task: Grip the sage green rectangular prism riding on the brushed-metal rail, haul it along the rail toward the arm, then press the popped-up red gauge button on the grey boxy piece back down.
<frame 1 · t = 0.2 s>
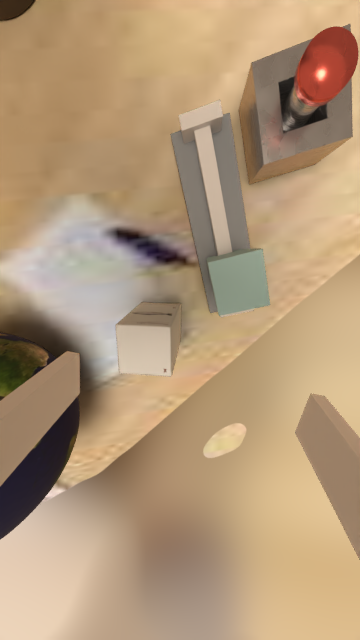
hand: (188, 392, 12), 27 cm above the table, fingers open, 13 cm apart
rail: (217, 227, 34), on the table
globe: (40, 374, 46), on the table
sage green rectangular prism: (232, 277, 29), point 8 cm above the table, slide at 0.0 cm
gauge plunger: (308, 93, 21), point 9 cm above the table, slide at 0.0 cm
grey boxy piece: (277, 138, 30), on the table
supplement box: (161, 320, 40), on the table
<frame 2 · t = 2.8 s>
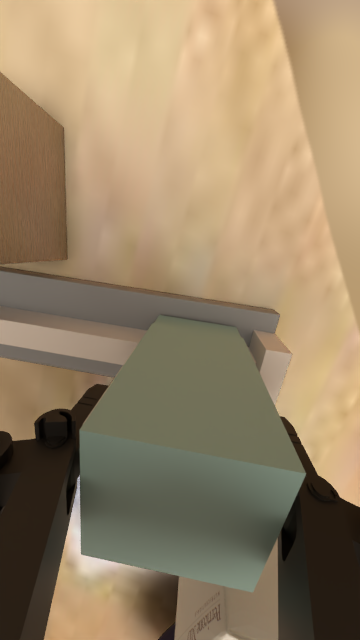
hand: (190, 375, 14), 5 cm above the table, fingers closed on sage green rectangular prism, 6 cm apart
rail: (116, 329, 20), on the table
sage green rectangular prism: (187, 397, 12), point 8 cm above the table, slide at 0.0 cm, touching gripper
grey boxy piece: (9, 191, 17), on the table
supplement box: (229, 460, 23), on the table
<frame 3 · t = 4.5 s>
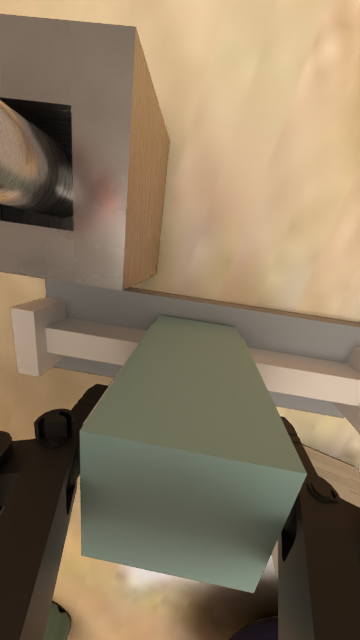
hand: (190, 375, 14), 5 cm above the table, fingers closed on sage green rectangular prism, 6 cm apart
rail: (199, 343, 19), on the table
globe: (281, 623, 32), on the table
sage green rectangular prism: (188, 397, 12), point 8 cm above the table, slide at 7.6 cm, touching gripper
flower pot: (39, 610, 38), on the table
grey boxy piece: (104, 204, 16), on the table
supplement box: (301, 473, 23), on the table
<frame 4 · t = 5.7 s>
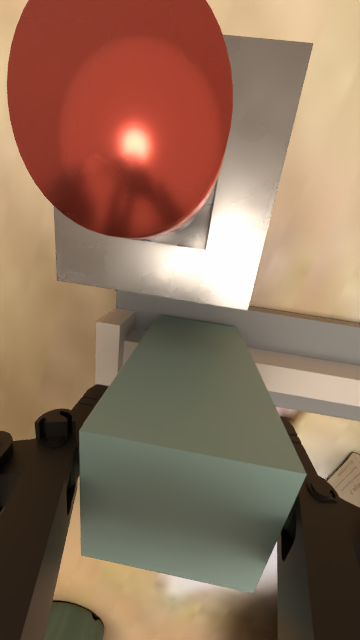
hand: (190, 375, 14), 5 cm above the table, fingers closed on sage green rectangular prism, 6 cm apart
rail: (266, 354, 19), on the table
sage green rectangular prism: (187, 397, 12), point 8 cm above the table, slide at 13.4 cm, touching gripper
flower pot: (72, 618, 38), on the table
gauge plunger: (154, 175, 8), point 9 cm above the table, slide at 0.0 cm
grey boxy piece: (180, 215, 16), on the table
supplement box: (358, 484, 23), on the table
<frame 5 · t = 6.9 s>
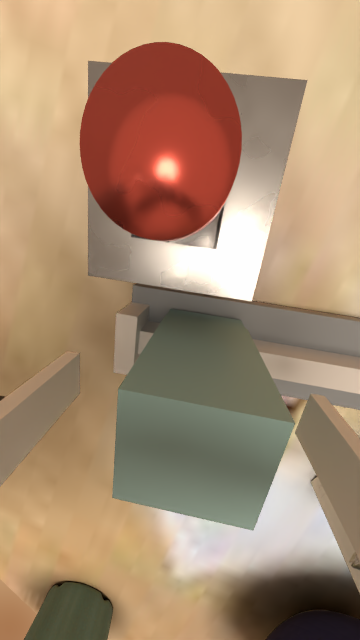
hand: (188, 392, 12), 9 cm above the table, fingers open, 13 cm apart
rail: (269, 346, 20), on the table
globe: (321, 617, 33), on the table
sage green rectangular prism: (197, 379, 14), point 8 cm above the table, slide at 13.5 cm
flower pot: (82, 598, 40), on the table
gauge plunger: (175, 188, 9), point 9 cm above the table, slide at 0.0 cm
grey boxy piece: (190, 217, 18), on the table
supplement box: (356, 471, 24), on the table
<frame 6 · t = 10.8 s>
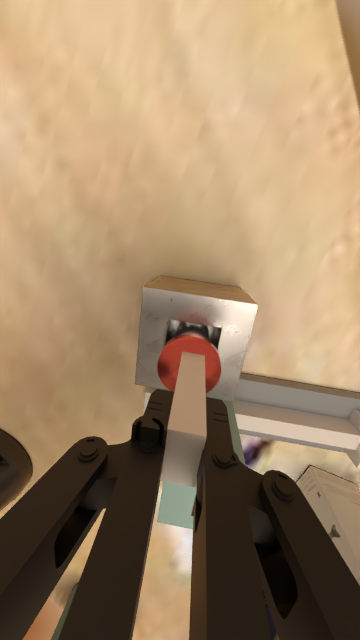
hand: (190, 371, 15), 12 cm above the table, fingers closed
rail: (249, 401, 29), on the table
sage green rectangular prism: (200, 440, 22), point 8 cm above the table, slide at 13.5 cm
flower pot: (101, 594, 47), on the table
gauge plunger: (191, 347, 18), point 8 cm above the table, slide at 1.2 cm, touching gripper
grey boxy piece: (194, 319, 26), on the table
supplement box: (316, 487, 32), on the table
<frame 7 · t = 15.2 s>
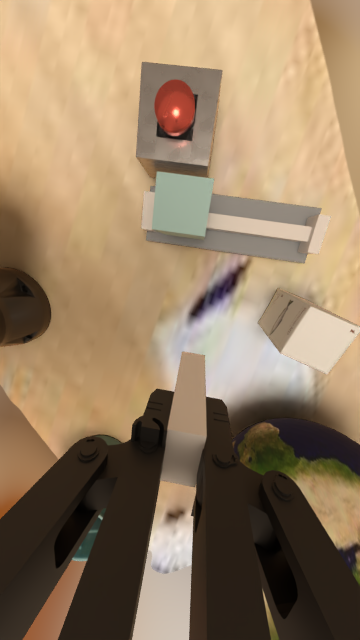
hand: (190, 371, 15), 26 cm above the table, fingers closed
rail: (227, 226, 36), on the table
globe: (273, 441, 48), on the table
sage green rectangular prism: (185, 213, 29), point 8 cm above the table, slide at 13.5 cm
flower pot: (106, 452, 54), on the table
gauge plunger: (177, 124, 27), point 6 cm above the table, slide at 2.7 cm
grey boxy piece: (182, 147, 33), on the table
supplement box: (284, 313, 39), on the table
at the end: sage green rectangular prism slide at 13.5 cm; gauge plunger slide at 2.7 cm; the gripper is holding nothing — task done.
